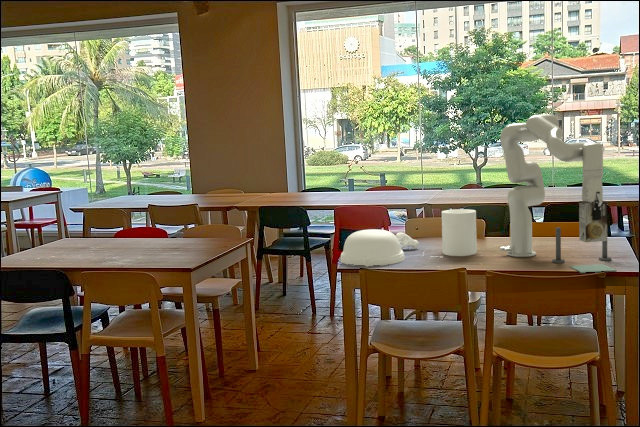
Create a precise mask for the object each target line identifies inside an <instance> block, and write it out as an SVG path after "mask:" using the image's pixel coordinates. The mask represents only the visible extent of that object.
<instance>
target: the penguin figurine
mask: <svg viewBox="0 0 640 427" xmlns="http://www.w3.org/2000/svg"><path fill="white" fill-rule="evenodd" d="M395 236H396V237H397V239H398V241H399V243H400V248H401V250H402V251H403V248H407V247H412V248H413V250H417V248H418V247H419V246H420V242H419V241H418V240H417V239H413V238H412V237H411V236H409V235H408V234H406V233H405V232H397V233H396V234H395Z"/></svg>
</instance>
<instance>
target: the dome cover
mask: <svg viewBox="0 0 640 427" xmlns="http://www.w3.org/2000/svg"><path fill="white" fill-rule="evenodd" d="M400 246H401V244H400V243H399V241H398V239H397V237H396V234H394V233H392V232H391V231H388V230H385V229H377V228H376V229H375V228H373V229H370V228H369V229H362V230H357V231H355V232H352V233H351V234H350V235H348V236H347V238H346V239H345V242H344V245H343V249H342V250H343V251H342V252H341V254H340V262H341V263H342V264H344V265H348V263H349V264H354V265H353V266H355V265H365V266H364V267H374V266H373V265H380V266H387V265H388V264H389V265H395V264H398V263H401V262H403V261H404V260H405V252H404V251H403V249H402V250H401V248H400Z"/></svg>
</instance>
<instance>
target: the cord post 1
mask: <svg viewBox="0 0 640 427" xmlns="http://www.w3.org/2000/svg"><path fill="white" fill-rule="evenodd" d="M561 230H562V228H561V227H558V226H557V227H555V258H552V260H551V261H552V263H553V264H564V263H565V261H566V260H565V259H564V258H562V250H561V248H562V241H561V240H562V238H561V237H562V234H561V232H562V231H561Z"/></svg>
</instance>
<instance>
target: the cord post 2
mask: <svg viewBox="0 0 640 427" xmlns="http://www.w3.org/2000/svg"><path fill="white" fill-rule="evenodd" d="M601 244H602V245H601V247H602V249H601V252H602V254H601V255H602V256H599V257H598V261H602V262H609V261H611V260H612V257H611V256H608V240H607V241H601Z"/></svg>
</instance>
